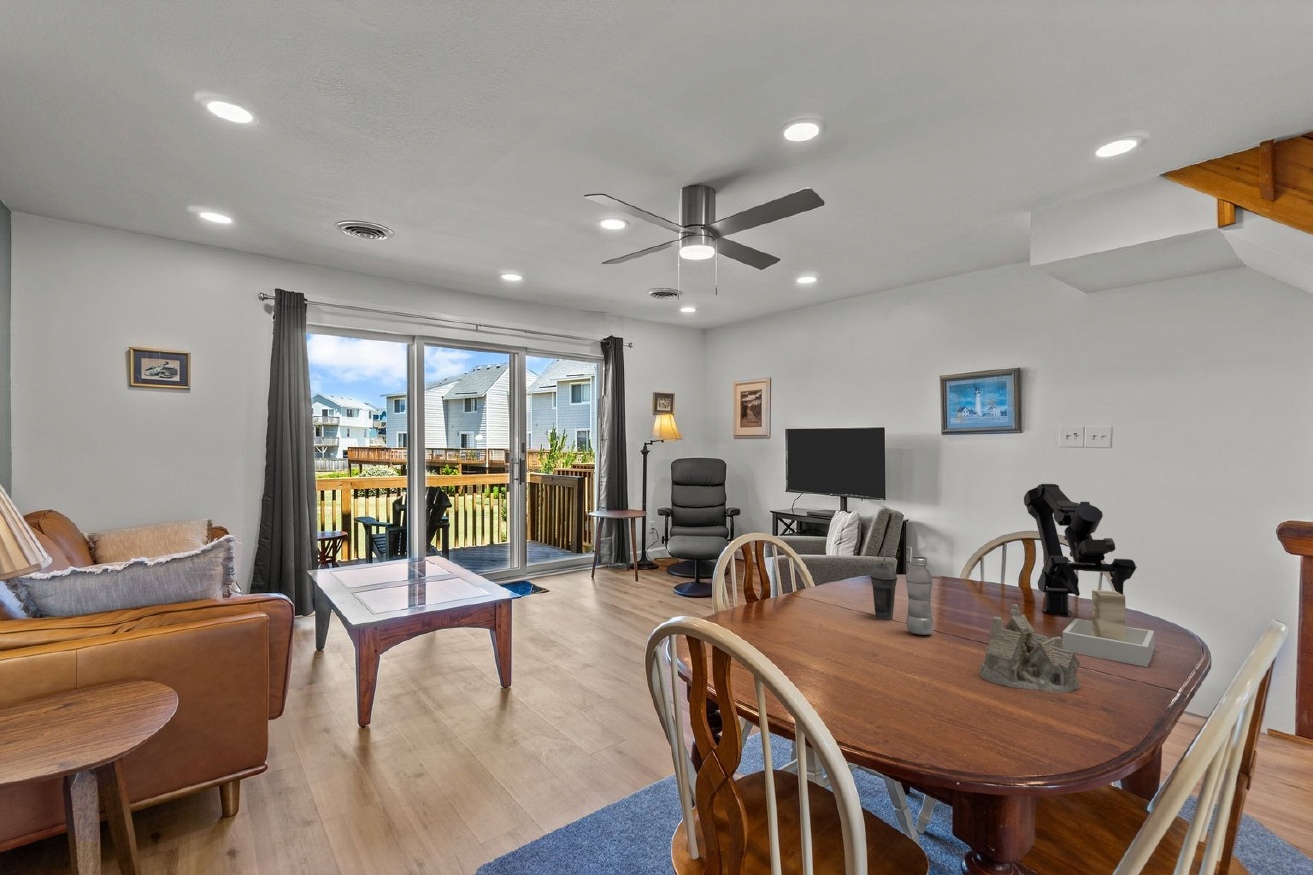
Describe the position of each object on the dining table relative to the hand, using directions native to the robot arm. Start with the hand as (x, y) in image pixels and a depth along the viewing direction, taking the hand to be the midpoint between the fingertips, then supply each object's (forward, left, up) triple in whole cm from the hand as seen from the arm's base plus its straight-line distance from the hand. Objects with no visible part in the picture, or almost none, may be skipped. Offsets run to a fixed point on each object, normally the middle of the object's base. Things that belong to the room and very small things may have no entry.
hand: (1099, 596), depth 152 cm
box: (+4, +2, -12) cm, 13 cm away
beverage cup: (+14, -49, -12) cm, 52 cm away
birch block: (+4, +2, -11) cm, 12 cm away
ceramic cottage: (+39, -8, -12) cm, 41 cm away
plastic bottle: (+22, -36, -12) cm, 44 cm away
